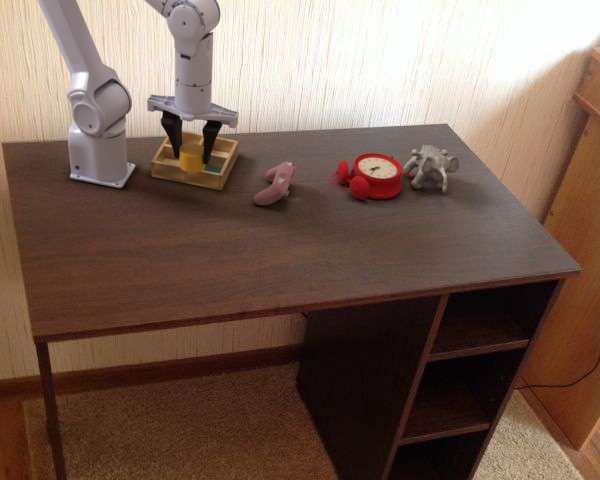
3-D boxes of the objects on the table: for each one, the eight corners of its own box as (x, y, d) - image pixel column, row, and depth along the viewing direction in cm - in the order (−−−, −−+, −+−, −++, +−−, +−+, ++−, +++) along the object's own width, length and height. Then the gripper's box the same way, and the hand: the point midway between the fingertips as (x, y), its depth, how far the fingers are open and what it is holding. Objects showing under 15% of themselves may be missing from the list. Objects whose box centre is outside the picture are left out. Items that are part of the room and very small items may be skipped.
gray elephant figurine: (428, 168, 150) (438, 132, 144) (468, 199, 144) (479, 162, 138) (392, 177, 146) (401, 140, 140) (431, 210, 140) (442, 173, 134)
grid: (151, 176, 136) (151, 161, 134) (172, 142, 145) (171, 127, 143) (221, 190, 136) (222, 175, 134) (237, 155, 145) (238, 141, 142)
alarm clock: (421, 176, 140) (358, 173, 132) (407, 206, 144) (346, 204, 136) (390, 148, 146) (328, 144, 137) (378, 178, 150) (317, 175, 141)
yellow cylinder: (175, 169, 126) (175, 153, 124) (183, 157, 129) (183, 140, 127) (201, 175, 126) (201, 158, 123) (208, 162, 129) (208, 145, 126)
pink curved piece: (272, 217, 134) (292, 190, 130) (250, 202, 133) (271, 174, 128) (284, 189, 141) (304, 162, 136) (264, 175, 140) (283, 147, 135)
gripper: (139, 79, 114) (142, 161, 124) (232, 98, 113) (228, 179, 123) (154, 61, 119) (156, 141, 128) (243, 79, 118) (238, 158, 128)
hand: (192, 158), depth 126 cm, fingers closed on yellow cylinder, 4 cm apart
